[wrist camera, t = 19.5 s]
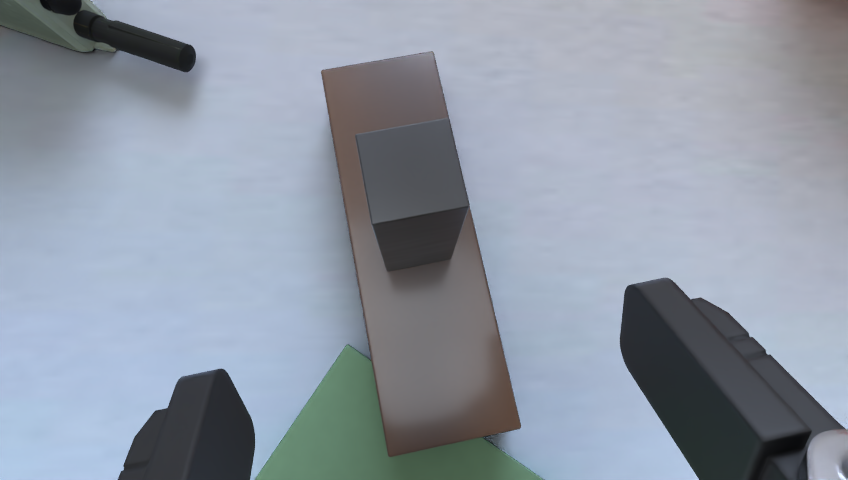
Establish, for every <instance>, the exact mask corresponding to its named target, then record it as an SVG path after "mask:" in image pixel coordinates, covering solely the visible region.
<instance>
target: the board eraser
mask: <svg viewBox="0 0 848 480" xmlns="http://www.w3.org/2000/svg"><path fill="white" fill-rule="evenodd" d="M321 74H322V80H323V86H324V92H325V97H326V103H327V109H328V115H329V120H330V126H331V132H332V138H333V143H334V149H335V155H336V161H337V166H338V172H339V178H340V184H341V189H342V195H343V201H344V207H345V212H346V218H347V224H348V230H349V235H350V241H351V247H352V253H353V258H354V264H355V270H356V276H357V281H358V287H359V293H360V299H361V304H362V310H363V316H364V322H365V327H366V333H367V339H368V345H369V350H370V356H371V362H372V368H373V373H374V379H375V385H376V391H377V396H378V402H379V408H380V414H381V419H382V425H383V431H384V437H385V442H386V448H387V454H388V456H389V457H394V456H399V455H403V454H408V453H413V452H417V451H422V450H426V449H431V448H435V447H440V446H444V445H449V444H453V443H458V442H462V441H467V440H472V439H476V438H481V437H485V436H490V435H494V434H499V433H503V432H508V431H512V430H517V429H520V428H521V423H520V419H519V415H518V411H517V406H516V402H515V398H514V393H513V389H512V385H511V381H510V376H509V372H508V368H507V364H506V359H505V355H504V351H503V347H502V342H501V338H500V334H499V329H498V325H497V321H496V317H495V312H494V308H493V304H492V300H491V295H490V291H489V287H488V282H487V278H486V274H485V270H484V265H483V261H482V257H481V253H480V248H479V244H478V240H477V235H476V231H475V227H474V223H473V218H472V214H471V210H470V206H469V201H468V197H467V192H466V188H465V184H464V179H463V175H462V171H461V167H460V162H459V158H458V154H457V150H456V145H455V141H454V137H453V132H452V128H451V124H450V120H449V116H448V112H447V107H446V103H445V99H444V95H443V90H442V86H441V82H440V77H439V73H438V69H437V65H436V60H435V56H434V53H433V52H432V51H431V52H426V53H420V54H414V55H408V56H402V57H396V58H390V59H385V60H379V61H373V62H367V63H361V64H355V65H349V66H344V67H338V68H332V69H326V70H322V71H321Z"/></svg>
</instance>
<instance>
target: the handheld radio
mask: <svg viewBox="0 0 848 480" xmlns="http://www.w3.org/2000/svg"><path fill="white" fill-rule="evenodd" d="M0 25H2V26H5V27H8V28H11V29H14V30H17V31H19V32H22V33H25V34H28V35H31V36H34V37H37V38H40V39H43V40H46V41H49V42H52V43H55V44H58V45H61V46H63V47H66V48H69V49H72V50H75V51H80V52H88V51H92V50H93V49H94V48H95V49H100V50H104V51H109V52H115V50H116V49H118V50H121V51H124V52H127V53H130V54H133V55H136V56H139V57H142V58H145V59H148V60H151V61H154V62H157V63H160V64H162V65H165V66H168V67H171V68H174V69H177V70H180V71H183V72H188V71H190V70H191V69H192V68H193V66H194V64H195V60H196V53H195V50H194V48H193V47H192V46H191V45H188V44H185V43H182V42H179V41H176V40H173V39H170V38H167V37H164V36H161V35H158V34H155V33H152V32H149V31H146V30H143V29H140V28H137V27H134V26H131V25H128V24H125V23H122V22H119V21H111V20H108V19H107V18H106V16H105V15H104V14H103V13H102V12H101V11H100V10H99V9H98V8H97V7H96V6H95V5H94V4H93V3H92V2H91V1H90V0H0Z"/></svg>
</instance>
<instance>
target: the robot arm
mask: <svg viewBox="0 0 848 480" xmlns="http://www.w3.org/2000/svg"><path fill="white" fill-rule="evenodd" d="M620 347H621V352H622V356H623V359H624V362H625V364H626V366H627V368H628V370H629V372H630V373H631V375H632V376H633V378H634V379H635V381H636V383H637V384H638V386H639V387H640V389H641V390H642V392H643V393H644V395H645V396H646V398H647V400H648V401H649V403H650V404H651V406H652V407H653V409H654V410H655V412H656V413H657V415H658V417H659V418H660V420H661V421H662V423H663V424H664V426H665V427H666V429H667V430H668V432H669V433H670V435H671V437H672V438H673V440H674V441H675V443H676V444H677V446H678V447H679V449H680V450H681V452H682V454H683V455H684V457H685V458H686V460H687V461H688V463H689V464H690V466H691V467H692V469H693V471H694V472H695V474H696V475H697V477H698V478H699V480H848V430H846V429H845V428H844V427H843V426H842V425H840V424H839V423H838V422H837V421H836V420H835V419H834V418H833V417H832V416H831V415H830V414H829V413H828V412H827V411H826V410H825V409H824V408H823V407H822V406H821V405H820V404H819V403H818V402H817V401H816V400H815V399H814V398H813V397H812V396H811V395H810V394H809V393H808V392H807V391H806V390H805V389H804V388H803V387H802V386H801V385H800V384H799V383H798V382H797V381H796V380H795V379H794V378H793V377H792V376H791V375H790V374H789V373H788V372H787V371H786V370H785V369H784V368H783V367H782V366H781V365H780V364H779V363H778V362H777V361H776V360H775V359H774V358H773V357H772V356H771V355H767V354H766V350H765V349H764V348H763V347H762V346H761V345H760V344H759V343H758V342H757V341H756V340H755V339H754V338H753V337H751V338H750V337H749V333H748V332H747V331H746V330H745V329H744V328H743V327H742V326H741V325H740V324H739V323H738V322H737V321H736V320H735V319H734V318H733V317H732V316H731V315H730V314H729V313H728V312H726V311H724V310H722V309H721V308H719V307H717V306H715V305H713V304H712V303H710V302H708V301H706V300H704V299H703V298H696V299H692V300H690V298H689V297H688V296H687V295H686V294H685V293H684V292H683V291H682V290H681V289H680V288H679V287H678V286H677V285H676V284H675V283H674V282H673V281H672V280H671V279H669V278H661V279H656V280H651V281H647V282H642V283H637V284H632V285H629V286H627V288H626V290H625V295H624V304H623V314H622V324H621V334H620ZM254 450H255V433H254V427H253V423H252V419H251V417H250V415H249V413H248V411H247V409H246V407H245V405H244V403H243V401H242V400H241V398H240V396H239V394H238V392H237V390H236V388H235V386H234V384H233V382H232V380H231V378H230V377H229V375H228V373H227V372H226V371H225V370H224V369H217V370H212V371H207V372H202V373H198V374H193V375H188V376H183V377H181V378H180V379H179V380H178V382H177V384H176V386H175V389H174V392H173V395H172V397H171V400H170V403H169V406H168V408H166V409H162V410H157V411H155V412H154V413H153V414H152V416H151V417H150V418H149V420H148V421H147V422H146V423H145V425H144V426H143V427H142V428H141V430H140V431H139V432H138V434H137V435H136V436H135V438H134V440H133V443H132V445H131V448H130V450H129V453H128V455H127V458H126V460H125V463H124V465H123V466H124V471H121V473H120V475H119V478H118V480H250V476H251V469H252V463H253V457H254Z"/></svg>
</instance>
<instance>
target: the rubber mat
mask: <svg viewBox="0 0 848 480" xmlns="http://www.w3.org/2000/svg"><path fill="white" fill-rule="evenodd" d="M255 480H544V479H542V478H541V477H539V476H538V475H536V474H535V473H534V472H532V471H531V470H529V469H528V468H526V467H525V466H523V465H522V464H521V463H519V462H518V461H516V460H515V459H513V458H512V457H510V456H509V455H508V454H506V453H505V452H503V451H502V450H500V449H499V448H497V447H496V446H495V445H493V444H492V443H490V442H489V441H487V440H486V439H484V438H483V437H481V438H476V439H472V440H467V441H462V442H458V443H453V444H449V445H444V446H440V447H435V448H431V449H426V450H422V451H417V452H413V453H408V454H403V455H399V456H394V457H389V456H388V454H387V448H386V442H385V437H384V431H383V425H382V419H381V414H380V408H379V402H378V396H377V391H376V385H375V379H374V373H373V368H372V362H371V360H370V359H369V358H367V357H366V356H364V355H363V354H362V353H360V352H359V351H357V350H356V349H354V348H353V347H351V346H350V345H346V346H345V348H344V349H343V351H342V352H341V354H340V355H339V357H338V358H337V360H336V361H335V362H334V364H333V365H332V367H331V368H330V370H329V371H328V373H327V374H326V376H325V377H324V379H323V380H322V382H321V383H320V385H319V386H318V388H317V389H316V390H315V392H314V393H313V395H312V396H311V398H310V399H309V401H308V402H307V404H306V405H305V407H304V408H303V410H302V411H301V413H300V414H299V415H298V417H297V418H296V420H295V421H294V423H293V424H292V426H291V427H290V429H289V430H288V432H287V433H286V435H285V436H284V438H283V439H282V440H281V442H280V443H279V445H278V446H277V448H276V449H275V451H274V452H273V454H272V455H271V457H270V458H269V460H268V461H267V463H266V464H265V465H264V467H263V468H262V470H261V471H260V473H259V474H258V476H257V477H256V479H255Z"/></svg>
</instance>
